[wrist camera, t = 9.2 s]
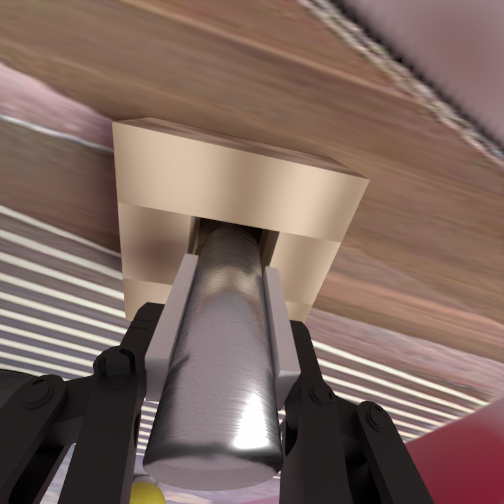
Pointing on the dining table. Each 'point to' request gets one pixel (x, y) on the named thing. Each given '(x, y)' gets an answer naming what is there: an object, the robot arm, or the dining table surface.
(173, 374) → the steel pin
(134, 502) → the bowl
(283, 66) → the dining table surface
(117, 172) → the hitch block
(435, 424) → the dining table surface
